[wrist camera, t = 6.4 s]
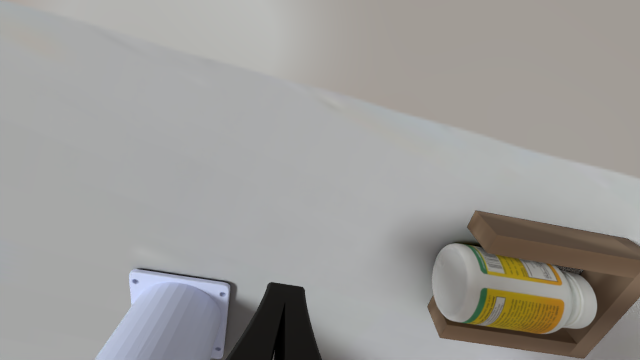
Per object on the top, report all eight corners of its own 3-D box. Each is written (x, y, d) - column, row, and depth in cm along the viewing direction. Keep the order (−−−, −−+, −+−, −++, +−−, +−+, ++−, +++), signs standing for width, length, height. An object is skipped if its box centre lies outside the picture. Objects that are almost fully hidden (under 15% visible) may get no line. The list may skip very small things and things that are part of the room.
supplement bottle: (467, 236, 20) (598, 256, 21) (429, 248, 25) (536, 264, 26) (472, 325, 18) (618, 344, 19) (430, 319, 23) (546, 334, 24)
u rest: (557, 326, 27) (583, 358, 25) (427, 306, 26) (439, 337, 23) (627, 238, 23) (668, 265, 20) (475, 210, 22) (497, 235, 19)
